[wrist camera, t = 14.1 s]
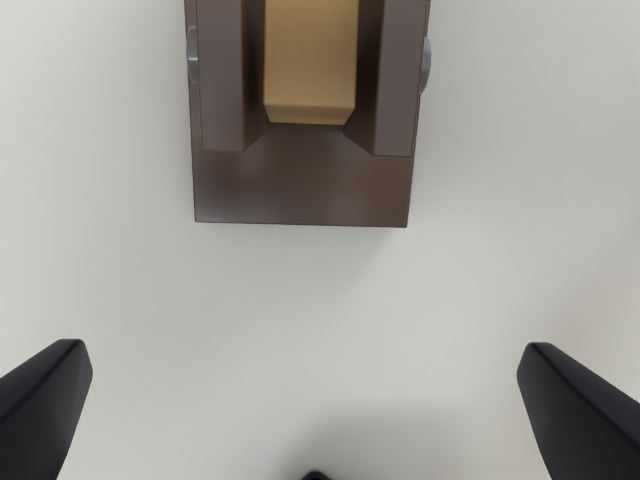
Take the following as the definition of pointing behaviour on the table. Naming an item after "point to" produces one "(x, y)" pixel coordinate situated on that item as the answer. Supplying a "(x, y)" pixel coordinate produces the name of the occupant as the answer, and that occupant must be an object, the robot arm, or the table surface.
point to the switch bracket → (300, 138)
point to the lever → (310, 60)
